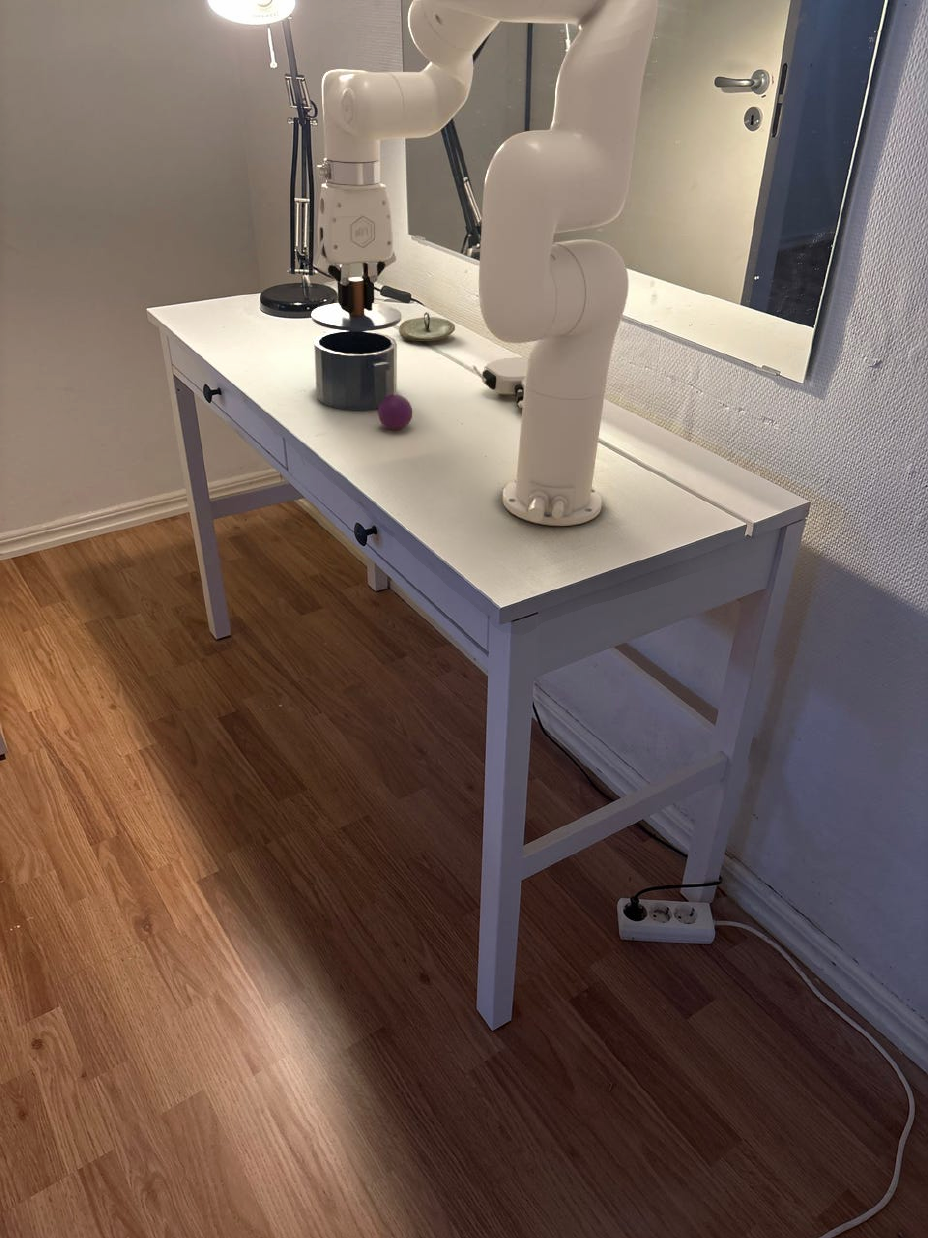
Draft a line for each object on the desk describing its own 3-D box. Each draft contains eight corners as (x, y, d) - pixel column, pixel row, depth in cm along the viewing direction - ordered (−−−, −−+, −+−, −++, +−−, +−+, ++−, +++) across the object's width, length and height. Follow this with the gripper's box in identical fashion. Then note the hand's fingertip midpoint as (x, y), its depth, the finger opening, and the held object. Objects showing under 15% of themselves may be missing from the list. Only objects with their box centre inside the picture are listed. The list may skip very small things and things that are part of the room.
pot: (345, 421, 136) (343, 365, 132) (297, 383, 149) (294, 330, 144) (418, 408, 142) (419, 354, 137) (366, 372, 154) (366, 321, 150)
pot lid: (334, 339, 131) (333, 294, 127) (297, 315, 140) (295, 273, 137) (417, 328, 137) (417, 285, 133) (376, 306, 146) (375, 265, 143)
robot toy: (582, 413, 146) (531, 376, 156) (587, 386, 143) (534, 350, 153) (517, 425, 140) (468, 386, 150) (521, 397, 138) (470, 359, 148)
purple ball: (407, 437, 133) (408, 403, 130) (374, 433, 133) (373, 399, 131) (415, 424, 137) (416, 391, 134) (382, 420, 138) (382, 387, 135)
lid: (458, 340, 176) (459, 313, 174) (449, 342, 166) (450, 313, 165) (404, 337, 177) (405, 310, 175) (392, 339, 168) (393, 310, 166)
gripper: (308, 180, 121) (315, 321, 131) (417, 175, 128) (416, 310, 138) (287, 172, 127) (296, 308, 137) (393, 168, 134) (394, 298, 144)
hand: (356, 308), depth 137 cm, fingers closed on pot lid, 2 cm apart
